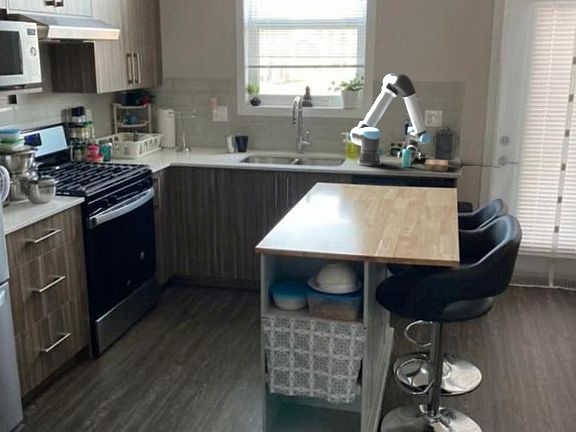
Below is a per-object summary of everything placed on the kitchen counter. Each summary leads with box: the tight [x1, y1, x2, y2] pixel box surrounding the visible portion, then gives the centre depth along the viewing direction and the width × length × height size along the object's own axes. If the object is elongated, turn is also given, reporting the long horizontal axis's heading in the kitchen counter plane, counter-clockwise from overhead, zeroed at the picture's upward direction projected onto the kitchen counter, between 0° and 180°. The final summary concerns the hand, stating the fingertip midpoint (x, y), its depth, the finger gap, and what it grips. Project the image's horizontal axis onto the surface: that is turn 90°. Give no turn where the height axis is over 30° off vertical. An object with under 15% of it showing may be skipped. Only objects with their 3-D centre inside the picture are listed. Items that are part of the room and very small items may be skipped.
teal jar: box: [401, 148, 412, 168], centre depth 409 cm, size 6×6×11 cm
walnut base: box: [423, 158, 449, 172], centre depth 405 cm, size 14×18×4 cm
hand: (408, 156), depth 413 cm, fingers open, 13 cm apart
